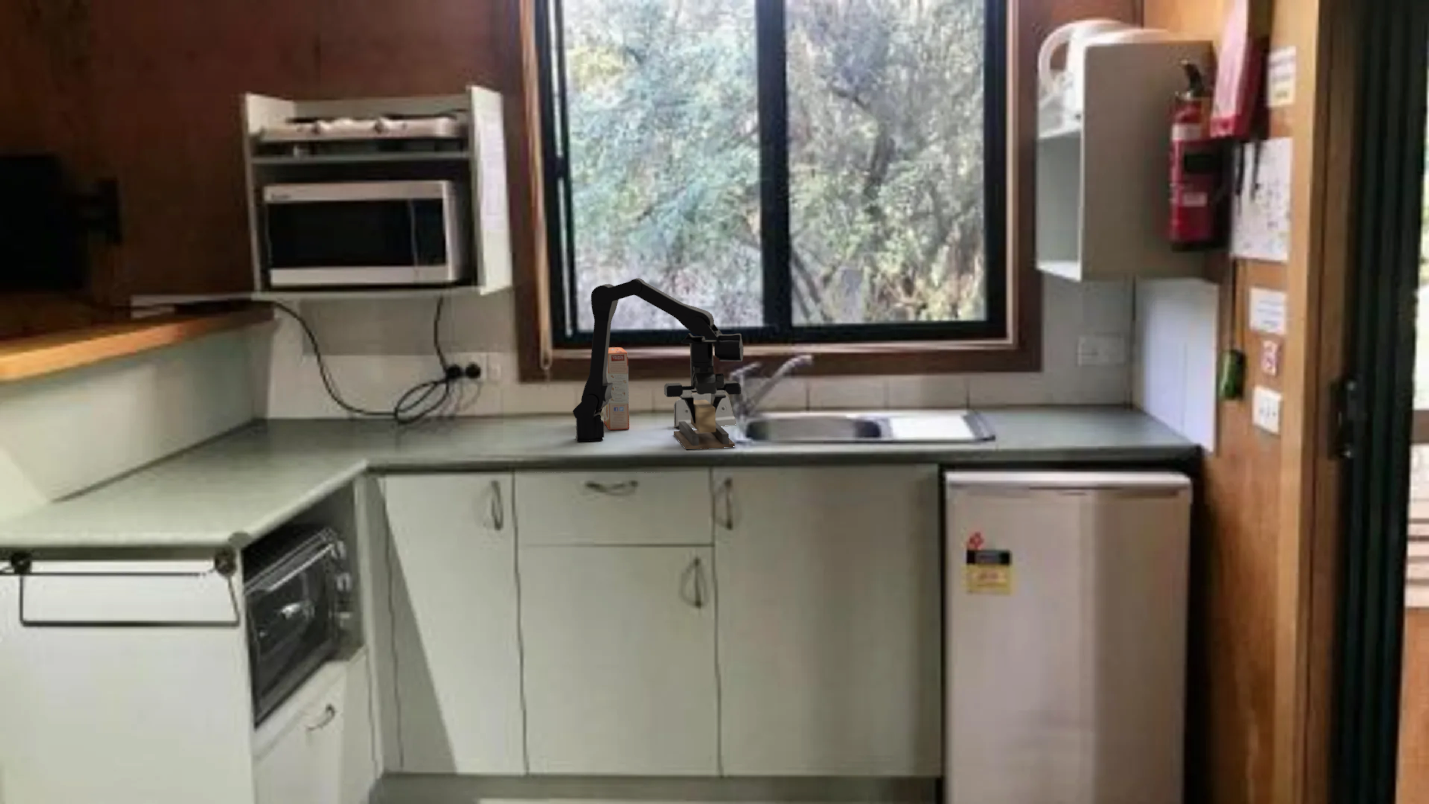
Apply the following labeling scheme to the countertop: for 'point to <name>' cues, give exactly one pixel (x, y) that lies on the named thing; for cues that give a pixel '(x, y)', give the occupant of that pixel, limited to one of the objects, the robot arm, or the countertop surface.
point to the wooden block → (704, 416)
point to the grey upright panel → (723, 410)
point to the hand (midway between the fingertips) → (703, 422)
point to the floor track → (702, 437)
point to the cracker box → (617, 390)
